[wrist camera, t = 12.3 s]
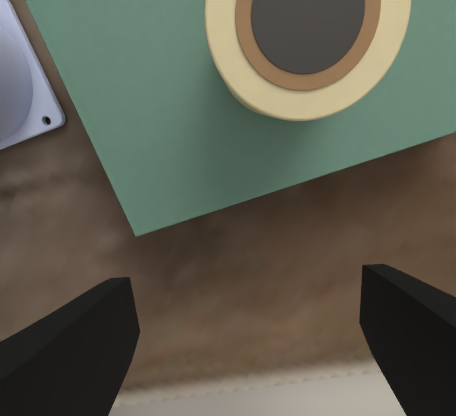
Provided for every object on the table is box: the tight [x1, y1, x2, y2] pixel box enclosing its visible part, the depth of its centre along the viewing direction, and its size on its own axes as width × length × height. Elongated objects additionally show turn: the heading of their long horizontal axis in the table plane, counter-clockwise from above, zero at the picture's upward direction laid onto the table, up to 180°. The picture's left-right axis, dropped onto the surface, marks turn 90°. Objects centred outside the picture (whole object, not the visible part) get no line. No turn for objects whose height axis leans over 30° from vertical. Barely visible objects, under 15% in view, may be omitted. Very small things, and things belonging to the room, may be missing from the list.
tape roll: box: [204, 0, 411, 121], centre depth 10 cm, size 5×5×5 cm
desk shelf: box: [25, 0, 456, 236], centre depth 15 cm, size 18×11×5 cm, turn 109°
